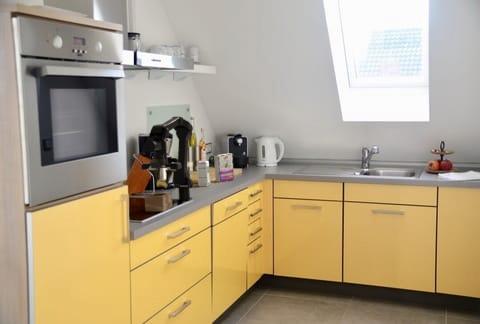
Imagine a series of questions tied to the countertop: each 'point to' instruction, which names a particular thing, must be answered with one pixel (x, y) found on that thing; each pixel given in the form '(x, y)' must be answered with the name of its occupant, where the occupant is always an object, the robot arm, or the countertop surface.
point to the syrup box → (203, 173)
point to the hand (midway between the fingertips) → (162, 184)
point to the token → (161, 183)
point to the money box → (158, 202)
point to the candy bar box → (224, 167)
